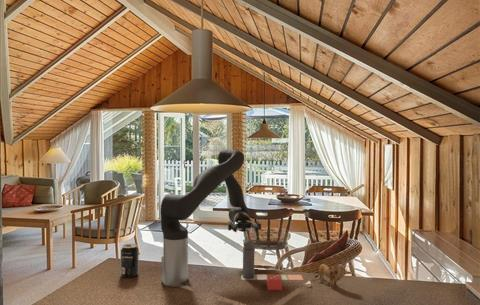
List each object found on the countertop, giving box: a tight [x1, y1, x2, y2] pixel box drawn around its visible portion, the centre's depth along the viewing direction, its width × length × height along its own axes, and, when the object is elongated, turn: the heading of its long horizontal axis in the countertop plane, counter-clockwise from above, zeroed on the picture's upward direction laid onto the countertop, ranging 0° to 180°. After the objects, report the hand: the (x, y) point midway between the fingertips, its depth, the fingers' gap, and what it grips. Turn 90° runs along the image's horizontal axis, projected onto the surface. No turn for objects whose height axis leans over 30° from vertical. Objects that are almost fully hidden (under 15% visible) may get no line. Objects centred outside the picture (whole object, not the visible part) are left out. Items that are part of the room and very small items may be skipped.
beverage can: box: [120, 243, 139, 278], centre depth 145 cm, size 7×7×12 cm
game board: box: [240, 273, 312, 288], centre depth 141 cm, size 28×12×1 cm, turn 90°
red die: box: [266, 274, 283, 291], centre depth 131 cm, size 5×5×5 cm
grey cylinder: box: [242, 240, 255, 279], centre depth 140 cm, size 4×4×14 cm
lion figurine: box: [314, 263, 348, 290], centre depth 137 cm, size 15×5×9 cm, turn 34°
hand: (246, 229), depth 152 cm, fingers open, 8 cm apart
